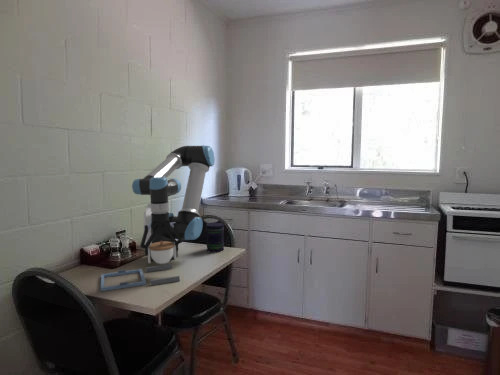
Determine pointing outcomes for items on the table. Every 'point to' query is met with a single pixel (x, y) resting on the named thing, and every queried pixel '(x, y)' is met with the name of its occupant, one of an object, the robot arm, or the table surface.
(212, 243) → the storage jar
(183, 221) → the robot arm
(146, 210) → the milk
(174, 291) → the table surface
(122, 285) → the frame
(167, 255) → the lidded jar
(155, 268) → the charcoal rails
